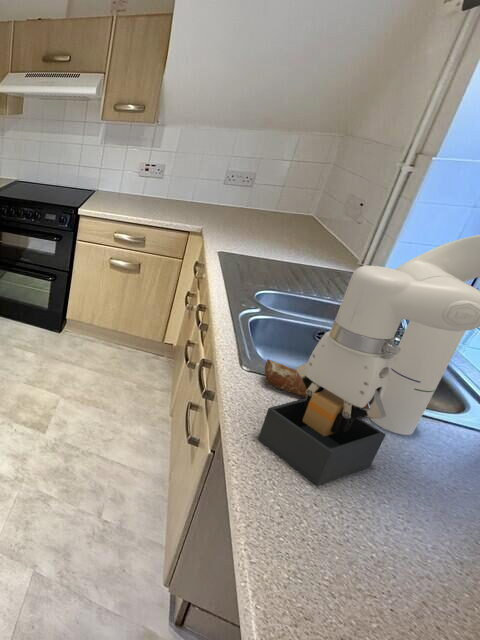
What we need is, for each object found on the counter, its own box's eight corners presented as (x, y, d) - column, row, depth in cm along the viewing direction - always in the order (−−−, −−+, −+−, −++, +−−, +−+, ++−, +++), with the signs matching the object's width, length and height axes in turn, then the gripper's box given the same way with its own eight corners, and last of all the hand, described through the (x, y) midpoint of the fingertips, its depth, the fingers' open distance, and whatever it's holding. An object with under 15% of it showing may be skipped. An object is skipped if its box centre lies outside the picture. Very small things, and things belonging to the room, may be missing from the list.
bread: (262, 374, 103) (268, 355, 101) (364, 410, 91) (373, 389, 89) (258, 386, 98) (264, 366, 96) (365, 425, 87) (375, 404, 85)
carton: (320, 415, 80) (331, 388, 78) (343, 430, 76) (355, 402, 74) (301, 421, 78) (312, 393, 76) (324, 436, 75) (336, 408, 72)
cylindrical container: (368, 405, 92) (413, 306, 84) (413, 422, 88) (466, 319, 79) (366, 421, 88) (413, 318, 79) (413, 440, 83) (469, 332, 74)
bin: (307, 424, 87) (319, 394, 84) (370, 466, 77) (386, 434, 74) (257, 439, 82) (268, 407, 80) (316, 486, 72) (331, 452, 70)
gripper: (437, 361, 64) (391, 451, 71) (322, 311, 79) (293, 389, 85) (406, 369, 62) (362, 461, 68) (294, 316, 77) (266, 396, 83)
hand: (324, 421), depth 77 cm, fingers closed on carton, 4 cm apart
